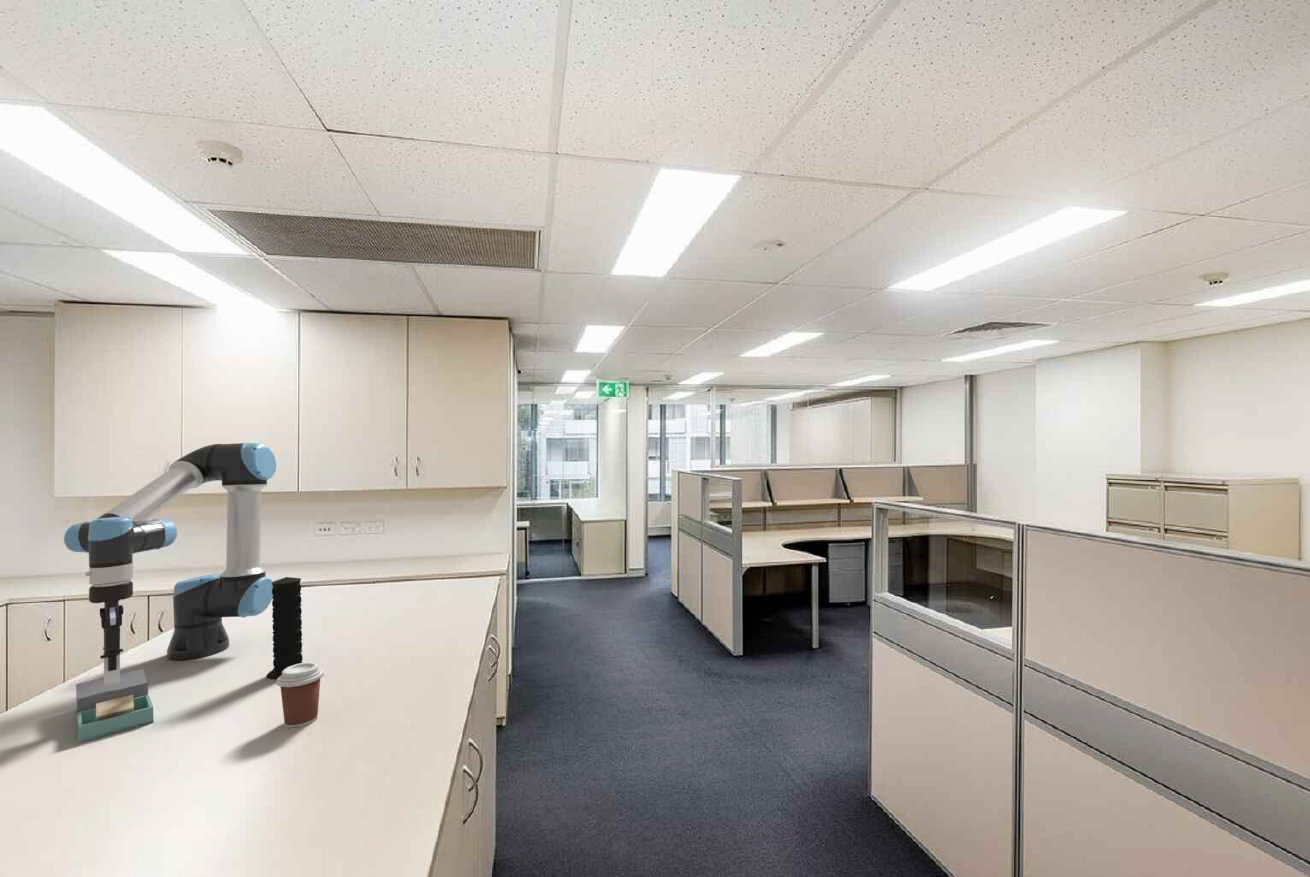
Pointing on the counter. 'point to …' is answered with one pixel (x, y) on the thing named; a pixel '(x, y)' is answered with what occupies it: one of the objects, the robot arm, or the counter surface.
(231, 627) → the counter surface
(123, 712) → the tile
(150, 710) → the box
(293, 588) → the black ridged tower
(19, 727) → the counter surface
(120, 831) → the counter surface
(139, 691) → the gray rectangular block
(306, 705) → the coffee cup
